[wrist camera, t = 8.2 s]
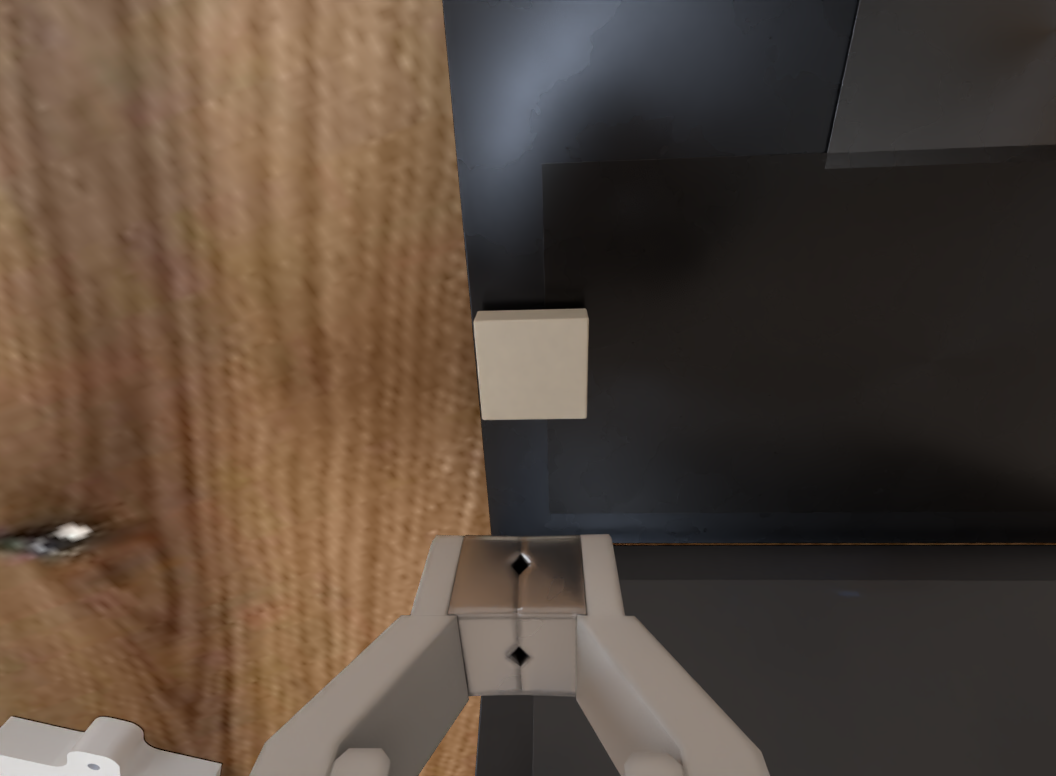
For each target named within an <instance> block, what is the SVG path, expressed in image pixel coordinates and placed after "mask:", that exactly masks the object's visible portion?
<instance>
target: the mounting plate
mask: <svg viewBox="0 0 1056 776" xmlns="http://www.w3.org/2000/svg"><path fill="white" fill-rule="evenodd" d="M221 765H222V764H220V763H216V762H211V761H207V760H202V759H198V758H193V757H189V756H185V755H180V754H176V753H171V752H167V751H163V750H158V749H155V748H153V747H151V746H149V745H148V744H147V743H146V742H145V741H144V733H143V731H142V729H141V728H140V727H139V726H137V725H135V724H133V723H131V722H127V721H123V720H119V719H114V718H110V717H98V718H96V719H95V720H94V721H93V723H92V724H91V725H90V726H89V728H88V729H87V730H86V731H85V732H79V731H74V730H70V729H65V728H61V727H57V726H52V725H48V724H43V723H39V722H34V721H30V720H26V719H21V718H17V717H12V716H11V717H10V718H9V719H8V720H7V721H6V723H5V724H4V725H3V726H2V727H1V728H0V776H220V772H221Z"/></svg>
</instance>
